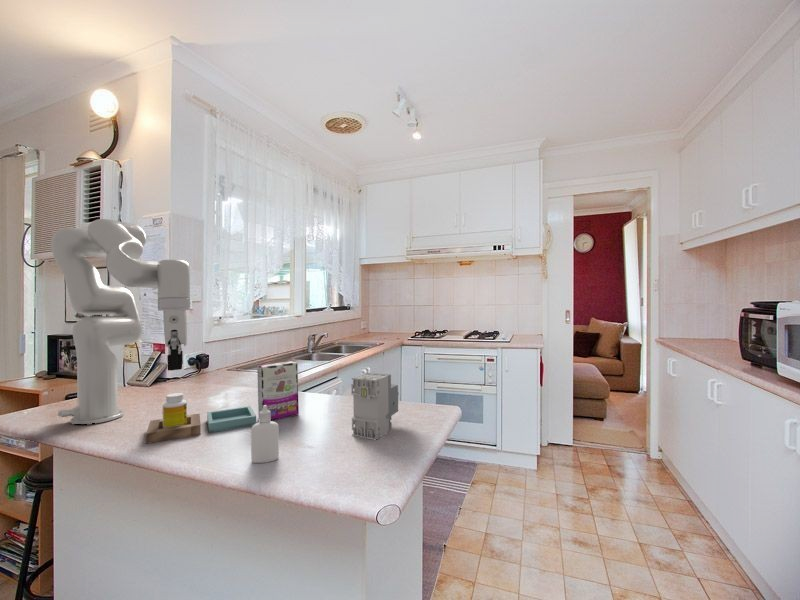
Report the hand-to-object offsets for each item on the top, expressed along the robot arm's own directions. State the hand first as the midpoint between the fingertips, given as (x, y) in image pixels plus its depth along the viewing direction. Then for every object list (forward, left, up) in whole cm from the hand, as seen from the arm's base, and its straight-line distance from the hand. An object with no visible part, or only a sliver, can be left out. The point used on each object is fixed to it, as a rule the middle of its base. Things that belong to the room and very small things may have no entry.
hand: (175, 367), depth 98 cm
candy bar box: (+27, -2, -18) cm, 32 cm away
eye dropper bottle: (+18, -32, -18) cm, 40 cm away
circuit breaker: (+48, -28, -18) cm, 58 cm away
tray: (+14, 0, -18) cm, 22 cm away
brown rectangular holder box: (0, 0, -18) cm, 18 cm away
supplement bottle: (0, 0, -18) cm, 18 cm away
